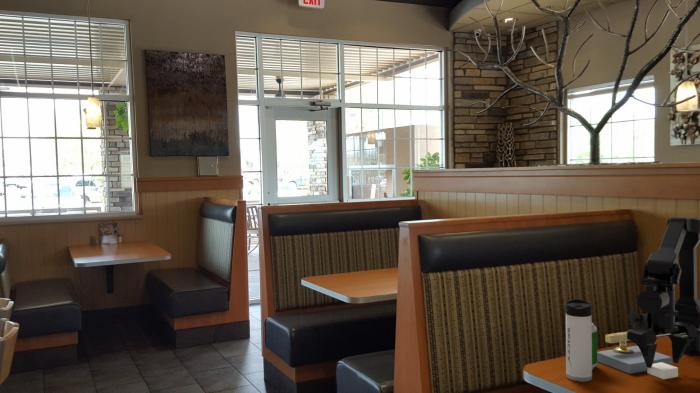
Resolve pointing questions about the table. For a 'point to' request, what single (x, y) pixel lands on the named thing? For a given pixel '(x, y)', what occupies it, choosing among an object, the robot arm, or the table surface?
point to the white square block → (663, 370)
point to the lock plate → (629, 359)
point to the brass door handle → (619, 338)
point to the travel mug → (578, 340)
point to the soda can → (594, 346)
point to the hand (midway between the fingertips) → (662, 365)
